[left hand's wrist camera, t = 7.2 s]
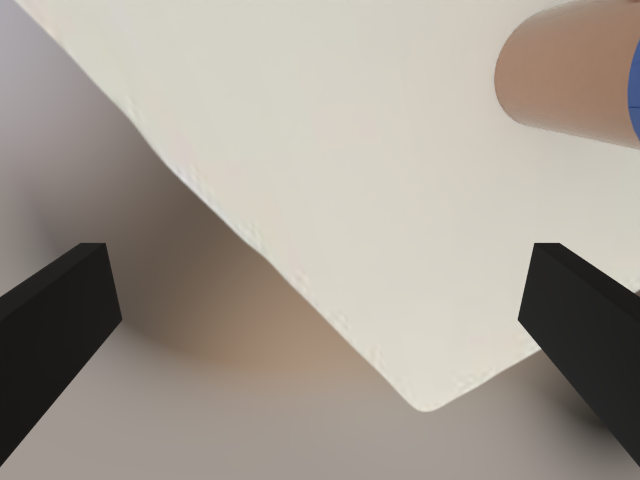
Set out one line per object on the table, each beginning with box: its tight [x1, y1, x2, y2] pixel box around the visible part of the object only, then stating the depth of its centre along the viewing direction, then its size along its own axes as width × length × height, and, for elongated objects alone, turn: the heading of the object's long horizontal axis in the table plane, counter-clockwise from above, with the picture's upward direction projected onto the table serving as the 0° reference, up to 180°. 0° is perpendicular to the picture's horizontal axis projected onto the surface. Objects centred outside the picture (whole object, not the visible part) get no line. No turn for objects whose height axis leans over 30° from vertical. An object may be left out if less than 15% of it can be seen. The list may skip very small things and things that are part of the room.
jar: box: [495, 0, 640, 150], centre depth 27 cm, size 10×10×20 cm
